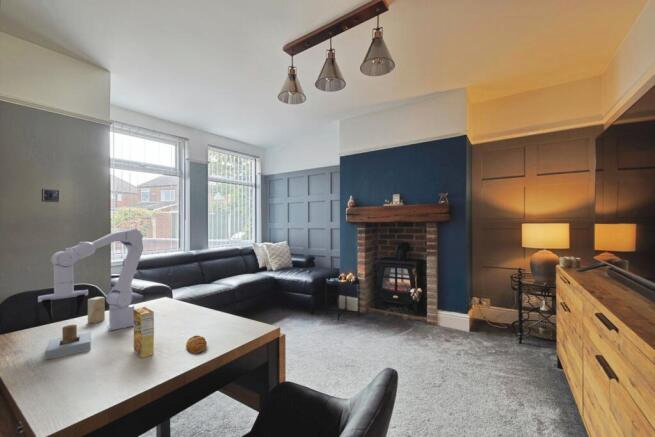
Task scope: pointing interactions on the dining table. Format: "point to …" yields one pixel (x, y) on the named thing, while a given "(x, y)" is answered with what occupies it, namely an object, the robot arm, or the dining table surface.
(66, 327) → the peg
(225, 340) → the dining table surface
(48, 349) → the socket block
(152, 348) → the candy box
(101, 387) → the dining table surface
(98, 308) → the box
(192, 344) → the pastry
